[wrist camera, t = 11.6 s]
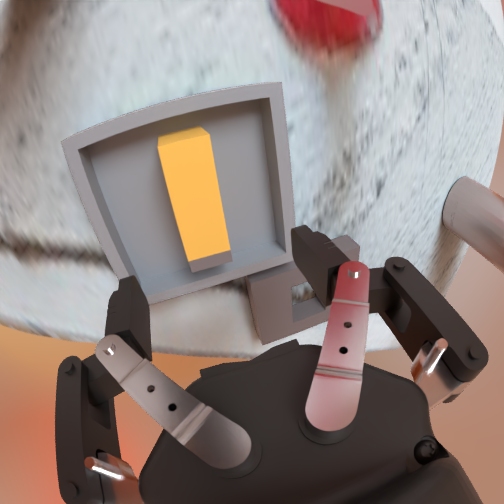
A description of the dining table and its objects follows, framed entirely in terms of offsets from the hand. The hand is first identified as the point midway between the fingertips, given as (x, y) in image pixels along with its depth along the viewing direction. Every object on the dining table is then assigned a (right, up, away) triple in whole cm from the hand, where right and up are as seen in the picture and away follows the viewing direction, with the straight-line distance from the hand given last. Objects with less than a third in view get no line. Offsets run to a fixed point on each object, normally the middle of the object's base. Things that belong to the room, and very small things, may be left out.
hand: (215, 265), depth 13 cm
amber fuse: (-3, +8, +2) cm, 9 cm away
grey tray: (-3, +5, +8) cm, 10 cm away
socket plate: (+7, -3, +18) cm, 19 cm away
